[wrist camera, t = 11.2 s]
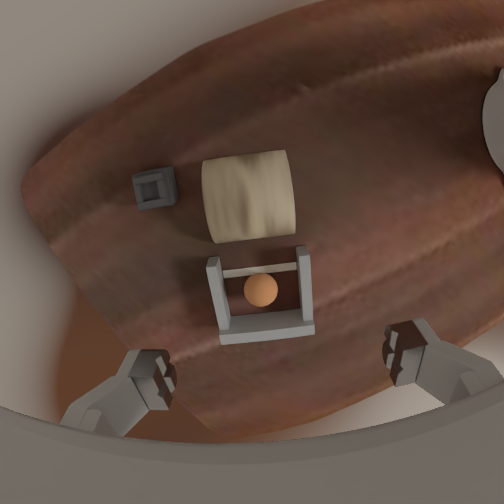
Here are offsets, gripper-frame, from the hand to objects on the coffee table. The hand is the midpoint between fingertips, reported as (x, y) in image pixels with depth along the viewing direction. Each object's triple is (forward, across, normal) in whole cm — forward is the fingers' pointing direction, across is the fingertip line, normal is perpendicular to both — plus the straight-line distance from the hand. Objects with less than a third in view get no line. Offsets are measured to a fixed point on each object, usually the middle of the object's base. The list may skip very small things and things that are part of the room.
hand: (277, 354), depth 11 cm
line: (+25, +2, +8) cm, 27 cm away
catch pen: (+25, +2, +12) cm, 28 cm away
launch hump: (+31, +2, 0) cm, 31 cm away
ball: (+23, +2, +10) cm, 25 cm away
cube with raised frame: (+25, +12, -4) cm, 28 cm away
